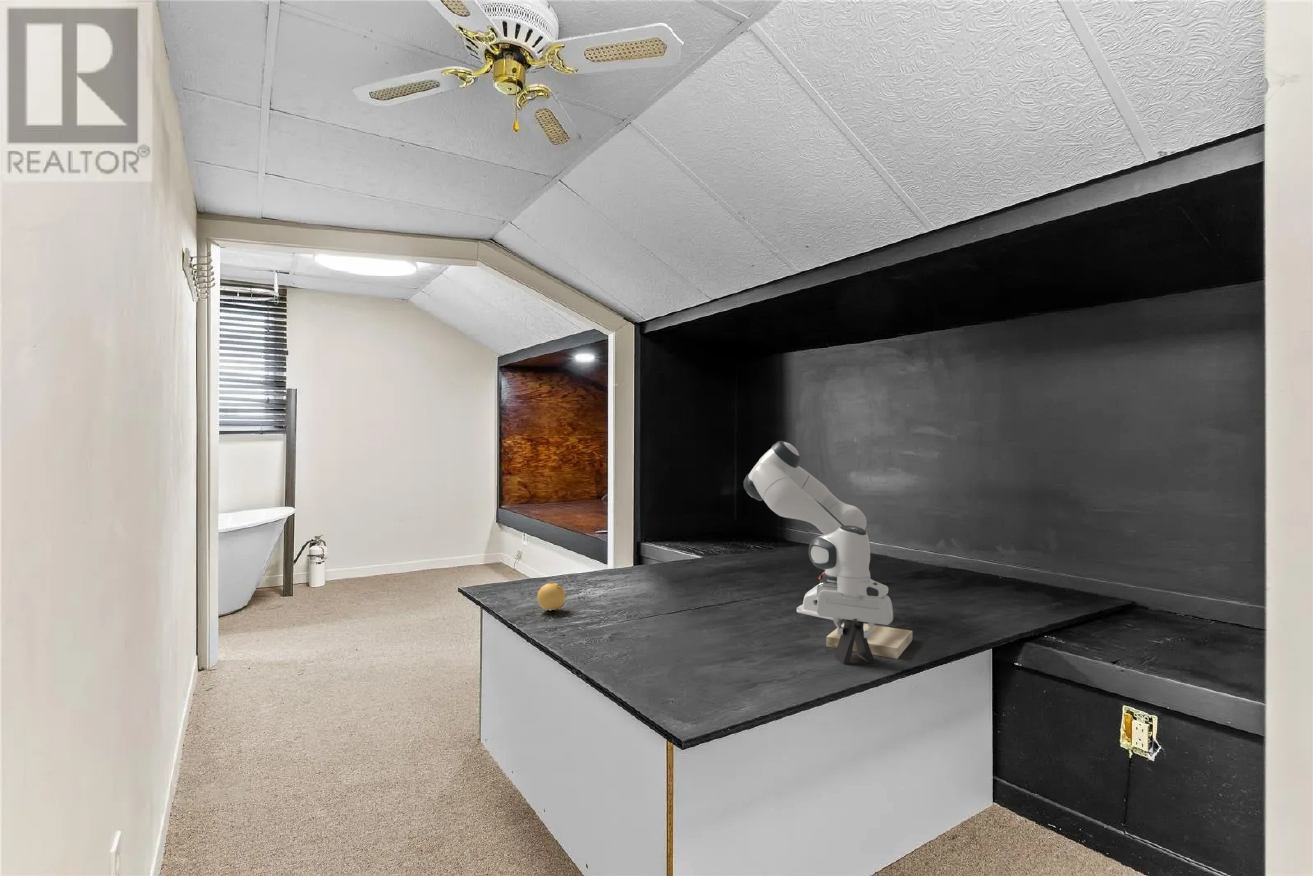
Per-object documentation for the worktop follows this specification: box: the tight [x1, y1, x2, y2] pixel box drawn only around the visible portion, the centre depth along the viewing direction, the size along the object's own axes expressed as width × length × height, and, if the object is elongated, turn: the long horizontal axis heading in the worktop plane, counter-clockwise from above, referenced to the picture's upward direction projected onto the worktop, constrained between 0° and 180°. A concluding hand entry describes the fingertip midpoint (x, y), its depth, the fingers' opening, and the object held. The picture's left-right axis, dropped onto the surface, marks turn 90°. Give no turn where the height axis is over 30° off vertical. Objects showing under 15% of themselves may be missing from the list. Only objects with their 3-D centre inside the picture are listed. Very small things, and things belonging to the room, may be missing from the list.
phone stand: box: [833, 619, 875, 665], centre depth 178 cm, size 9×6×12 cm, turn 98°
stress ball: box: [537, 581, 566, 610], centre depth 230 cm, size 10×10×10 cm
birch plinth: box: [825, 622, 913, 660], centre depth 193 cm, size 20×20×3 cm
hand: (854, 636), depth 177 cm, fingers open, 6 cm apart
